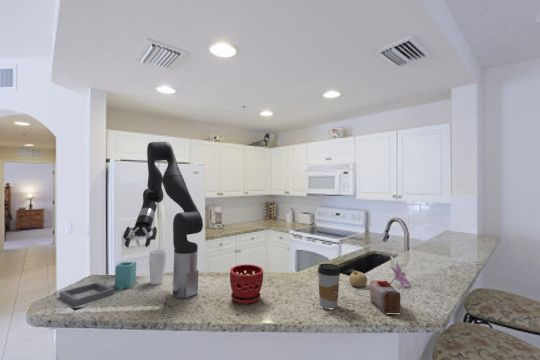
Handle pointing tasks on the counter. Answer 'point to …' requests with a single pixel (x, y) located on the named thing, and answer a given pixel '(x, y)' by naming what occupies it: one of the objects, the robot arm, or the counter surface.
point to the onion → (358, 279)
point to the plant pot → (246, 283)
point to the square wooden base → (127, 288)
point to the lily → (400, 276)
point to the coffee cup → (328, 285)
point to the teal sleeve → (125, 275)
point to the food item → (385, 296)
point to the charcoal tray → (75, 301)
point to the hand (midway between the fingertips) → (136, 246)
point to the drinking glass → (157, 266)
